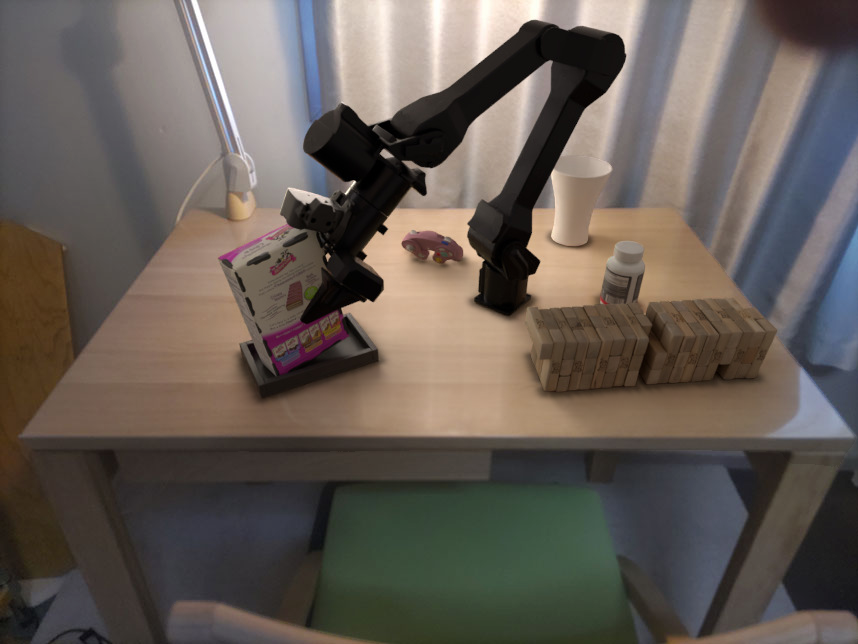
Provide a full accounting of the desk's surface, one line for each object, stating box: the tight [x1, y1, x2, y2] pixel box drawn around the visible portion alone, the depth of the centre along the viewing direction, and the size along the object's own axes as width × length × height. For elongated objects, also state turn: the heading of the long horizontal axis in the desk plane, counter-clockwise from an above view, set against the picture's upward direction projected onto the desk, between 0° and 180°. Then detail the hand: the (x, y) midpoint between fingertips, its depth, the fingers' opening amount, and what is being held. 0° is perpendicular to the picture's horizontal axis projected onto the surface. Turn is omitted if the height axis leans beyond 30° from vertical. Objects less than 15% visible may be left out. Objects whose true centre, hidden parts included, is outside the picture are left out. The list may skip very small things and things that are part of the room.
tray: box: [238, 312, 379, 399], centre depth 79 cm, size 16×10×2 cm, turn 118°
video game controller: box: [401, 229, 464, 265], centre depth 100 cm, size 10×5×7 cm, turn 68°
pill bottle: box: [599, 240, 646, 305], centre depth 88 cm, size 5×5×10 cm
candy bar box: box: [217, 223, 349, 376], centre depth 74 cm, size 11×5×16 cm, turn 132°
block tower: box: [524, 296, 778, 393], centre depth 76 cm, size 8×8×29 cm
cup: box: [550, 154, 614, 247], centre depth 105 cm, size 10×10×14 cm
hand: (291, 303), depth 74 cm, fingers open, 9 cm apart
